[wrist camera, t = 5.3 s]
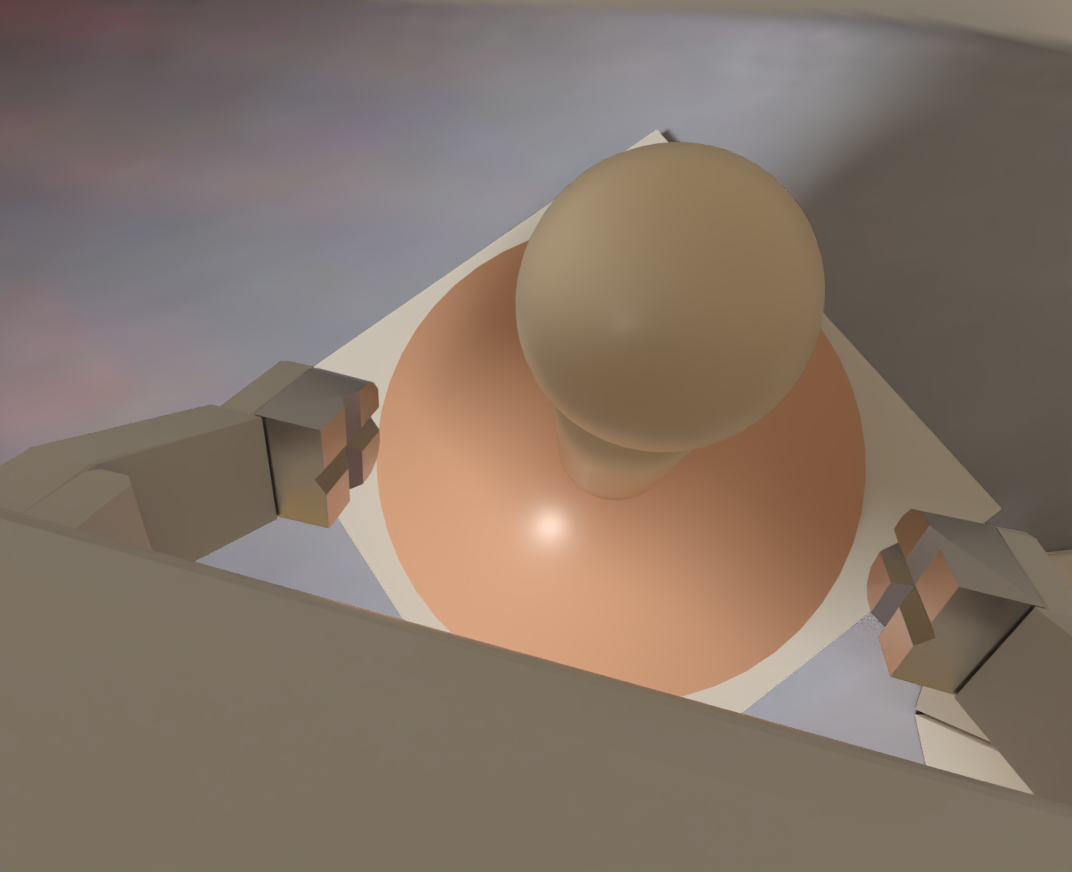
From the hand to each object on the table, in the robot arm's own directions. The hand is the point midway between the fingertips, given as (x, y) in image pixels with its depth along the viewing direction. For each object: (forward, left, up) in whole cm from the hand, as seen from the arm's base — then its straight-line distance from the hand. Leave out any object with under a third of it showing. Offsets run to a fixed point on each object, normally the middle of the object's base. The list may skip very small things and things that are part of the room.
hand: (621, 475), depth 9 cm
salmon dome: (-1, +1, -8) cm, 8 cm away
